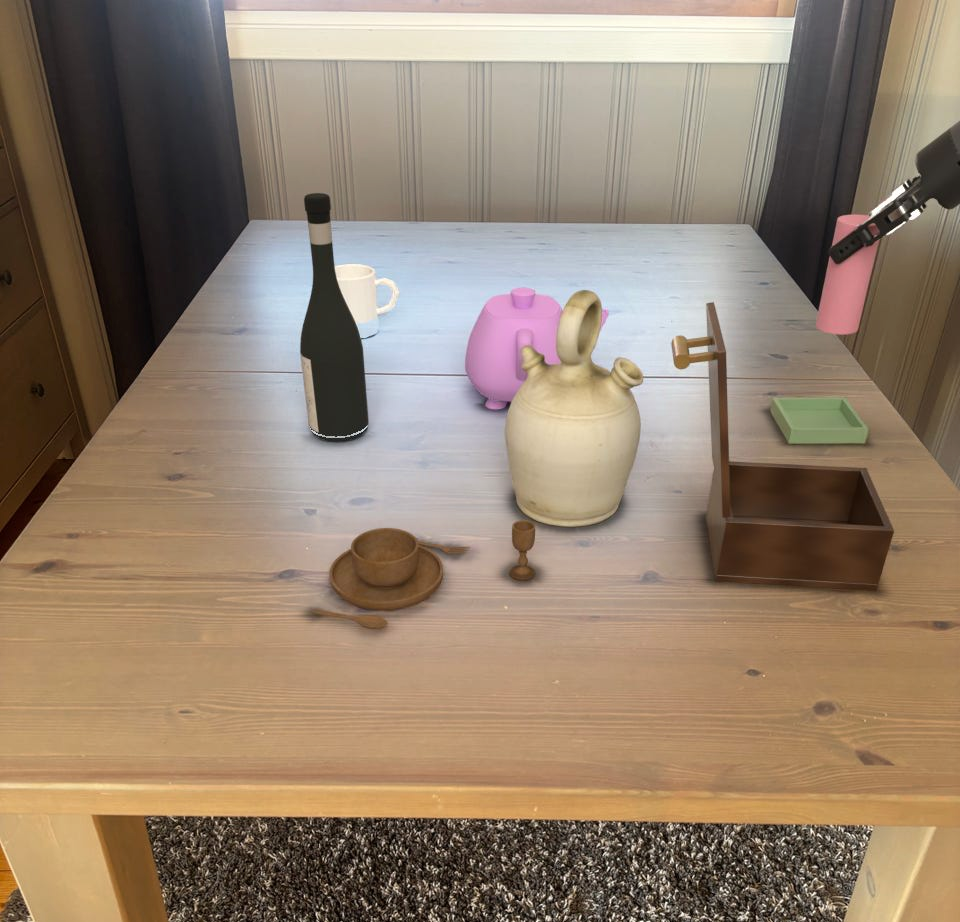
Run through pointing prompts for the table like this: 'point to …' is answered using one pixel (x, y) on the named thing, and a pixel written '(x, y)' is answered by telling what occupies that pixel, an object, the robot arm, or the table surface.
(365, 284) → the mug
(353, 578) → the place setting
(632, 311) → the table surface
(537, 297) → the teapot
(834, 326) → the tube
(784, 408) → the tray
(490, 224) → the table surface
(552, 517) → the jug
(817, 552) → the chest
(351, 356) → the wine bottle
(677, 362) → the chest lid
